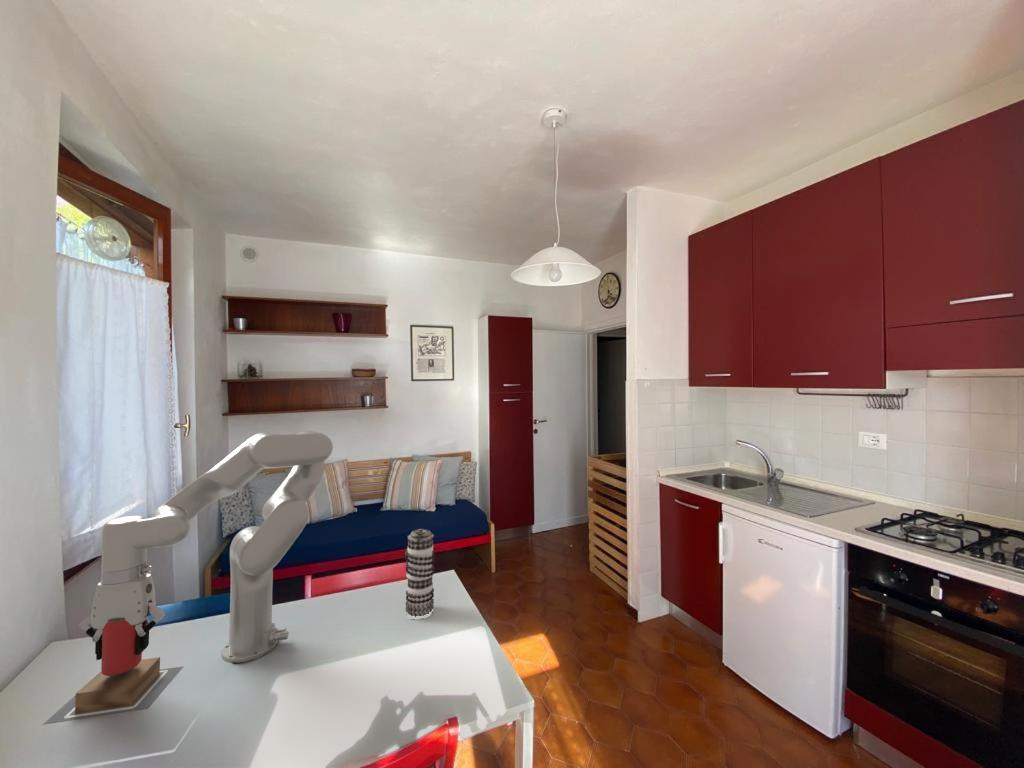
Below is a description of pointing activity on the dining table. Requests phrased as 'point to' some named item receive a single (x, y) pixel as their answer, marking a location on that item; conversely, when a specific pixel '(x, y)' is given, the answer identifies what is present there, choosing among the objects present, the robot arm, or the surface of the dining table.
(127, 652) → the beer can
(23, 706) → the dining table surface
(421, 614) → the decorative candle
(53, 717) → the grey mat
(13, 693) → the dining table surface
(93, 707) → the walnut base block
